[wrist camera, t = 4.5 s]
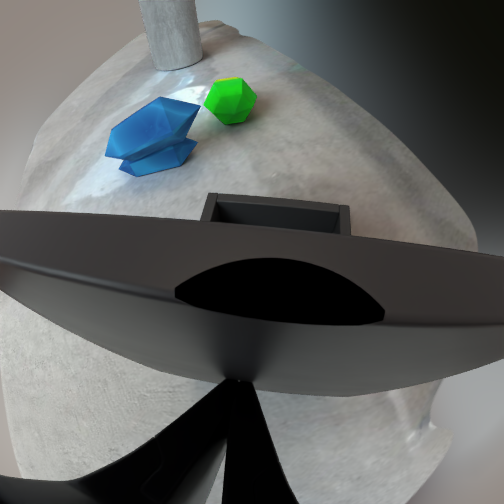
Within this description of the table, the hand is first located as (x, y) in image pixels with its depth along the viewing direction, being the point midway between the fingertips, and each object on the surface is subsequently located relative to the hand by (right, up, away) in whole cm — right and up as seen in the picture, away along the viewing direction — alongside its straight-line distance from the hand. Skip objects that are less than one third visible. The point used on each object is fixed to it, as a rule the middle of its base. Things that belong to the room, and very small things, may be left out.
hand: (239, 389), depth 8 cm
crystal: (-10, +14, +22) cm, 28 cm away
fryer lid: (0, +1, -1) cm, 2 cm away
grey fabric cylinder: (-14, +42, +39) cm, 59 cm away
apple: (-2, +22, +27) cm, 35 cm away
